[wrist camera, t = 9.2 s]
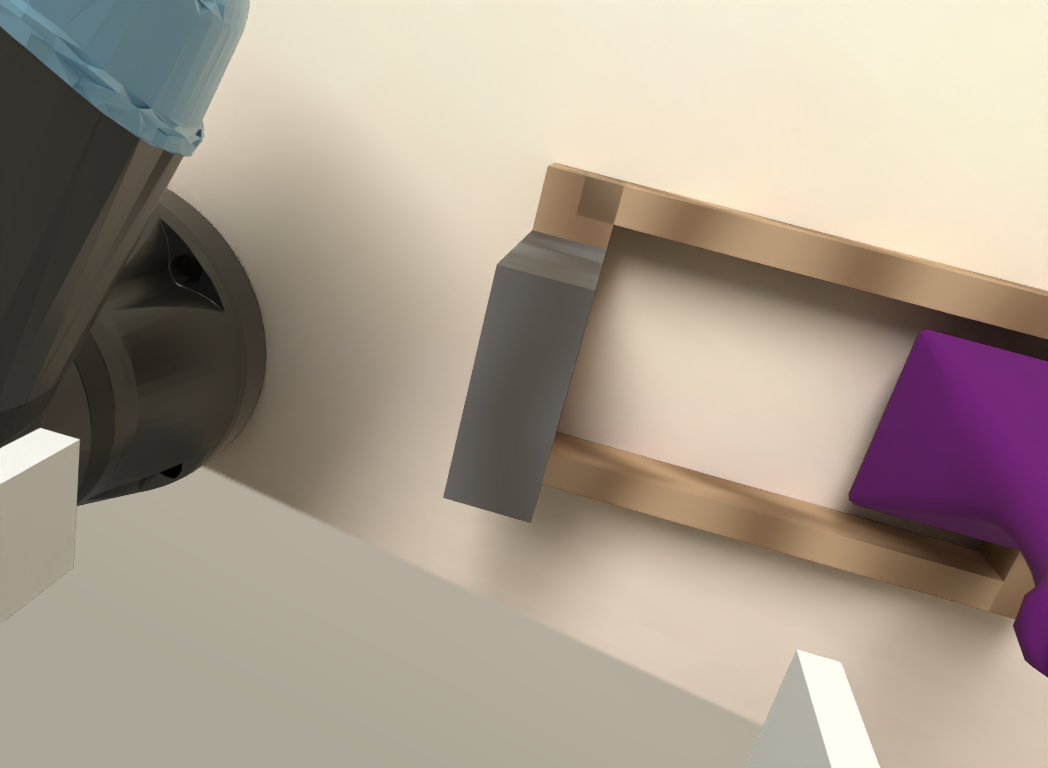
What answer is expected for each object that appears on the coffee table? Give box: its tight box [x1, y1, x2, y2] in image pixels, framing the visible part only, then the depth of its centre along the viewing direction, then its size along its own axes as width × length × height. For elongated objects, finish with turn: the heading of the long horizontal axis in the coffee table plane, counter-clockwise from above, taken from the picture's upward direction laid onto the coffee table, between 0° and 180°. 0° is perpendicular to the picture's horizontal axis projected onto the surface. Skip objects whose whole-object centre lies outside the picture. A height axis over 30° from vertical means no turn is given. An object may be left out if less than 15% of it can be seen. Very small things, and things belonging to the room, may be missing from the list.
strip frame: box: [443, 163, 1048, 619], centre depth 29 cm, size 24×13×10 cm, turn 76°
